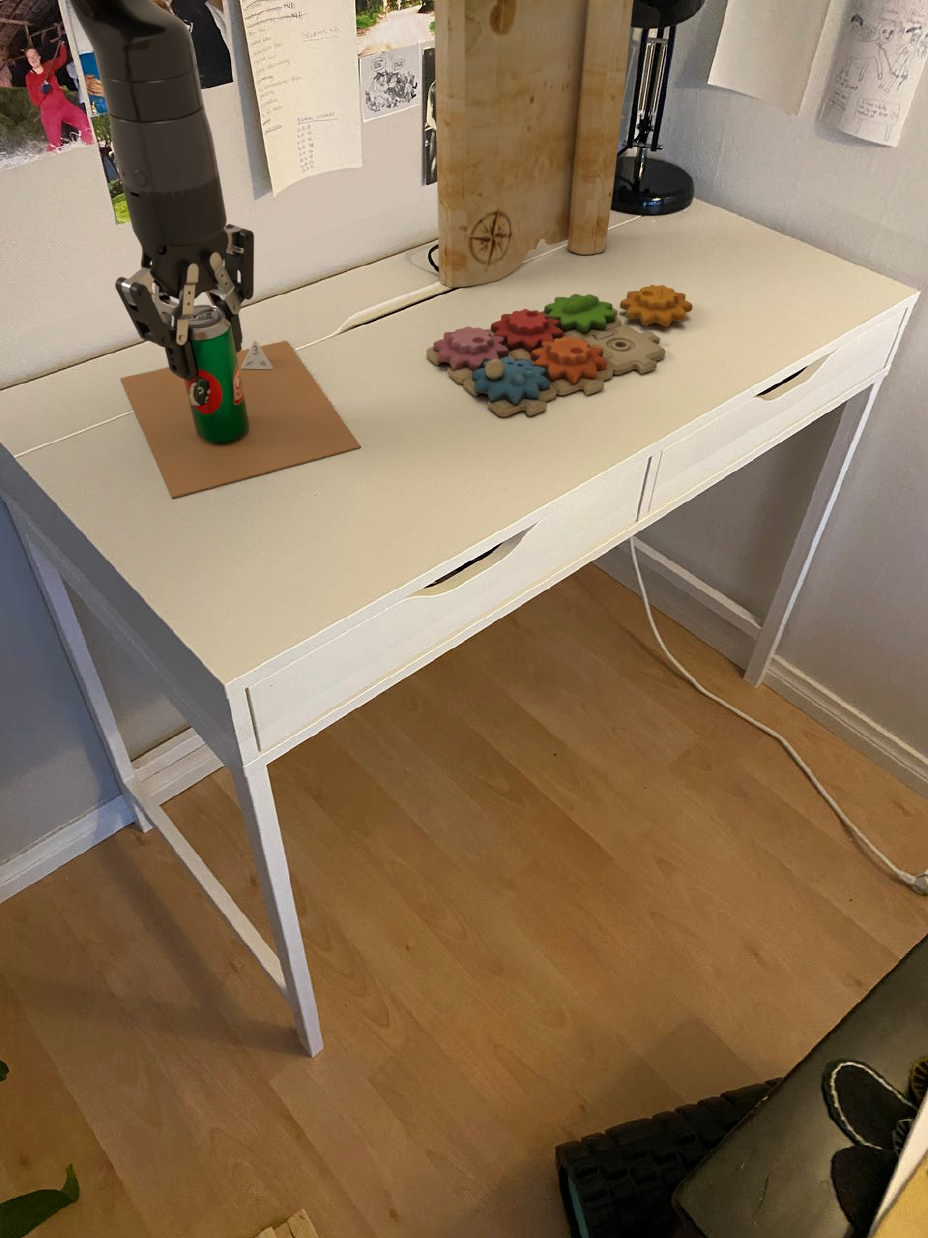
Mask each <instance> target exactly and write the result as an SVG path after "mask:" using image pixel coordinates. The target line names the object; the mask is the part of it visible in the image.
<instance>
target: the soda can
mask: <svg viewBox="0 0 928 1238" xmlns="http://www.w3.org/2000/svg"><path fill="white" fill-rule="evenodd" d="M187 340H188V341H190V344H191V349H192V353H193V358H194V362H195V367H196V372H197V378H195V379H193V380H192V381H187V380H185V379H184V382H185V386H186V390H187V395H188V399H189V403H190V408H191V412H192V416H193V421H194V425H195V429H196V433H197V434H198V435H199V436H200V437H201V438H202V439H204V440H206V441H208V442H210V443H215V444H225V443H230V442H233V441H236V440H238V439H239V438H241V437H242V436H243V435H244V434H245V432H246V431H247V429H248V427H249V420H248V414H247V409H246V403H245V398H244V392H243V387H242V381H241V376H240V370H239V365H238V359H237V354H236V348H235V343H234V337H233V332H232V326H231V322H230V321H229V320H228V319H227V318H226V317H225V313H224V311H223V310H222V309H221V308H219V307H217V306H213V305H212V304H196V305H195V304H194V311H193V316H192V317H190V318H189V320H188V334H187Z"/></svg>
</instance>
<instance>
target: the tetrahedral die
mask: <svg viewBox="0 0 928 1238" xmlns="http://www.w3.org/2000/svg"><path fill="white" fill-rule="evenodd" d="M260 346H261V345H259V343H258V341H257V340H256V339H254V340H253V341H252V344H251V346H250V348H249V349H250V350H249V352H248V354H247V356H246V358H245V360H244V363H243V365H242V367H241V369H261V370H273V369H274V368H273V367H272V365H271V364H270V362H269V361H268V359H267V357H266V356H265V354H264V353H263V351H262V349H261V348H260Z"/></svg>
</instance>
